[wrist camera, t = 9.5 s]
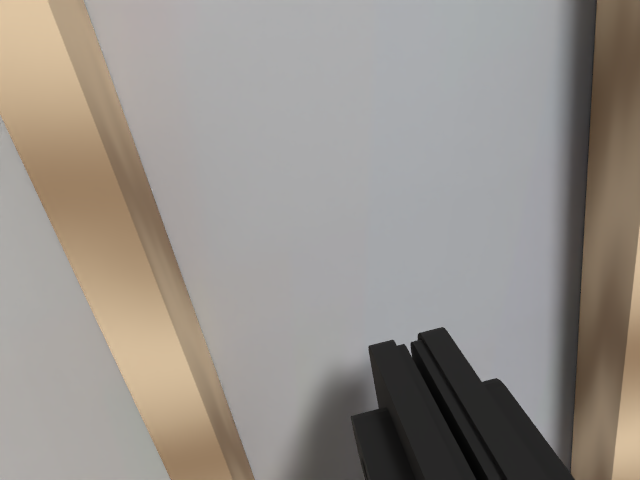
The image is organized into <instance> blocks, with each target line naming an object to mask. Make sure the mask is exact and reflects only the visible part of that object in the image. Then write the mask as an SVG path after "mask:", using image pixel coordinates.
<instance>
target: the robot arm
mask: <svg viewBox="0 0 640 480" xmlns="http://www.w3.org/2000/svg"><path fill="white" fill-rule="evenodd" d="M411 353H412V357H411V355H410V353H409V351H408V349H407V347H406V346H405V344H402V345H398V346H397V345H396V343H395V342H394V340H390V341H386V342H382V343H378V344H374V345H370V346H369V355H370V361H371V366H372V372H373V378H374V384H375V389H376V395H377V401H378V407H379V409H377V410H373V411H369V412H365V413H362V414H358V415H354V416H351V420H352V425H353V430H354V435H355V440H356V444H357V449H358V453H359V457H360V461H361V465H362V469H363V473H364V476H365V480H575V479H574V478H573V476H572V475H571V474H570V472H569V471H568V470H567V468H566V467H565V465H564V464H563V463H562V461H561V460H560V459H559V457H558V456H557V455H556V453H555V452H554V451H553V449H552V448H551V447H550V445H549V444H548V443H547V441H546V440H545V439H544V437H543V436H542V435H541V433H540V432H539V430H538V429H537V428H536V426H535V425H534V424H533V422H532V421H531V420H530V418H529V417H528V416H527V414H526V413H525V412H524V410H523V409H522V408H521V406H520V405H519V404H518V402H517V401H516V400H515V398H514V397H513V395H512V394H511V393H510V391H509V390H508V389H507V387H506V386H505V385H504V384H503V383H502V382H501V381H500V380H499V379H497V378H496V379H492V380H488V381H484V382H481V380H480V379H479V377H478V376H477V374H476V373H475V371H474V370H473V368H472V367H471V365H470V364H469V363H468V361H467V360H466V358H465V357H464V355H463V354H462V352H461V351H460V349H459V348H458V347H457V345H456V344H455V342H454V341H453V339H452V338H451V336H450V335H449V333H448V332H447V331H446V329H445V328H443V327H441V328H437V329H433V330H429V331H426V332H422V333H419V334H418V341H414V342H411Z"/></svg>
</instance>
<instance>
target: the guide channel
mask: <svg viewBox="0 0 640 480" xmlns="http://www.w3.org/2000/svg"><path fill="white" fill-rule="evenodd" d="M0 115H1V117H2V119H3V121H4V123H5V126H6V128H7V130H8V132H9V134H10V136H11V138H12V140H13V143H14V145H15V147H16V149H17V151H18V153H19V155H20V158H21V160H22V162H23V164H24V166H25V168H26V170H27V173H28V175H29V177H30V179H31V181H32V183H33V185H34V188H35V190H36V192H37V194H38V196H39V198H40V200H41V203H42V205H43V207H44V209H45V211H46V213H47V215H48V218H49V220H50V222H51V224H52V226H53V228H54V230H55V232H56V235H57V237H58V239H59V241H60V243H61V245H62V247H63V250H64V252H65V254H66V256H67V258H68V260H69V262H70V265H71V267H72V269H73V271H74V273H75V275H76V277H77V280H78V282H79V284H80V286H81V288H82V290H83V292H84V295H85V297H86V299H87V301H88V303H89V305H90V307H91V309H92V312H93V314H94V316H95V318H96V320H97V322H98V324H99V327H100V329H101V331H102V333H103V335H104V337H105V339H106V342H107V344H108V346H109V348H110V350H111V352H112V354H113V357H114V359H115V361H116V363H117V365H118V367H119V369H120V372H121V374H122V376H123V378H124V380H125V382H126V384H127V387H128V389H129V391H130V393H131V395H132V397H133V399H134V401H135V404H136V406H137V408H138V410H139V412H140V414H141V416H142V419H143V421H144V423H145V425H146V427H147V429H148V431H149V434H150V436H151V438H152V440H153V442H154V444H155V446H156V449H157V451H158V453H159V455H160V457H161V459H162V461H163V464H164V466H165V468H166V470H167V472H168V474H169V476H170V478H171V480H255V479H254V476H253V473H252V471H251V468H250V465H249V462H248V459H247V457H246V454H245V451H244V448H243V445H242V443H241V440H240V437H239V434H238V431H237V429H236V426H235V423H234V420H233V417H232V415H231V412H230V409H229V406H228V403H227V401H226V398H225V395H224V392H223V390H222V387H221V384H220V381H219V378H218V376H217V373H216V370H215V367H214V364H213V362H212V359H211V356H210V353H209V350H208V348H207V345H206V342H205V339H204V336H203V334H202V331H201V328H200V325H199V322H198V320H197V317H196V314H195V311H194V308H193V306H192V303H191V300H190V297H189V294H188V292H187V289H186V286H185V283H184V281H183V278H182V275H181V272H180V269H179V267H178V264H177V261H176V258H175V255H174V253H173V250H172V247H171V244H170V241H169V239H168V236H167V233H166V230H165V227H164V225H163V222H162V219H161V216H160V213H159V211H158V208H157V205H156V202H155V199H154V197H153V194H152V191H151V188H150V186H149V183H148V180H147V177H146V174H145V172H144V169H143V166H142V163H141V160H140V158H139V155H138V152H137V149H136V146H135V144H134V141H133V138H132V135H131V132H130V130H129V127H128V124H127V121H126V118H125V116H124V113H123V110H122V107H121V104H120V102H119V99H118V96H117V93H116V90H115V88H114V85H113V82H112V79H111V77H110V74H109V71H108V68H107V65H106V63H105V60H104V57H103V54H102V51H101V49H100V46H99V43H98V40H97V37H96V35H95V32H94V29H93V26H92V23H91V21H90V18H89V15H88V12H87V9H86V7H85V4H84V1H83V0H0ZM571 475H572V476H573V478H574V479H575V480H640V0H597V11H596V29H595V47H594V65H593V83H592V101H591V119H590V137H589V155H588V173H587V191H586V209H585V227H584V245H583V263H582V281H581V299H580V317H579V335H578V353H577V371H576V389H575V407H574V425H573V443H572V461H571Z"/></svg>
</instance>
